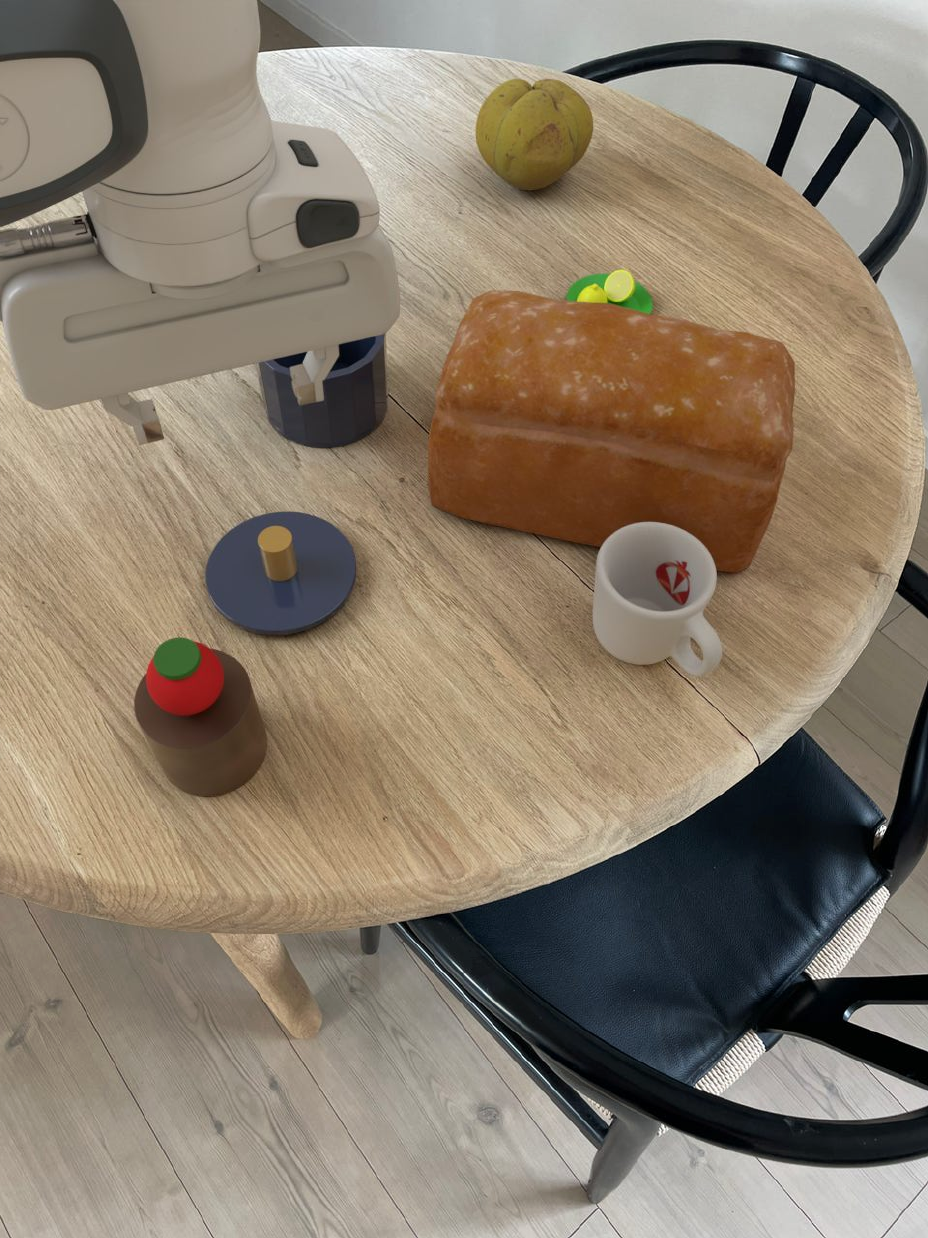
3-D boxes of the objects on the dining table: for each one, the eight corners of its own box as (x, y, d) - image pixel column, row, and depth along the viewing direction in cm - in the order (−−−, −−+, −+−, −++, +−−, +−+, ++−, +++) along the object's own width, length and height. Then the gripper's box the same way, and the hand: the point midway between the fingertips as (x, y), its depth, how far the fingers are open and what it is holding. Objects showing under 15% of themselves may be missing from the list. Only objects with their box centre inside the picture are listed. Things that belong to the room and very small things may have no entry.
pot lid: (228, 658, 69) (216, 621, 65) (193, 543, 74) (180, 502, 70) (376, 614, 71) (373, 576, 67) (332, 505, 77) (326, 464, 73)
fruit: (577, 219, 99) (590, 123, 90) (463, 203, 100) (466, 105, 91) (591, 159, 105) (605, 63, 96) (483, 144, 106) (488, 48, 97)
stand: (172, 811, 62) (146, 764, 56) (150, 720, 66) (123, 667, 60) (279, 776, 64) (264, 726, 58) (252, 689, 67) (235, 633, 61)
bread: (458, 399, 84) (464, 239, 71) (764, 458, 81) (828, 303, 68) (416, 519, 76) (413, 365, 63) (751, 589, 73) (821, 442, 60)
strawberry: (164, 738, 57) (145, 700, 53) (149, 677, 59) (129, 637, 56) (237, 715, 58) (224, 676, 54) (220, 656, 60) (206, 615, 57)
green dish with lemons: (604, 268, 94) (608, 242, 92) (668, 307, 91) (674, 282, 89) (548, 304, 91) (551, 278, 89) (613, 346, 88) (618, 321, 86)
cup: (740, 674, 69) (773, 610, 62) (655, 729, 66) (680, 669, 60) (642, 571, 74) (663, 502, 67) (559, 619, 71) (572, 552, 65)
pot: (284, 461, 79) (271, 391, 73) (251, 377, 84) (237, 306, 78) (405, 429, 81) (403, 360, 75) (366, 350, 87) (361, 279, 81)
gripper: (-42, 284, 41) (56, 500, 53) (410, 196, 46) (410, 410, 58) (-58, 201, 44) (38, 421, 56) (367, 127, 50) (375, 343, 61)
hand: (230, 415), depth 57 cm, fingers open, 8 cm apart
